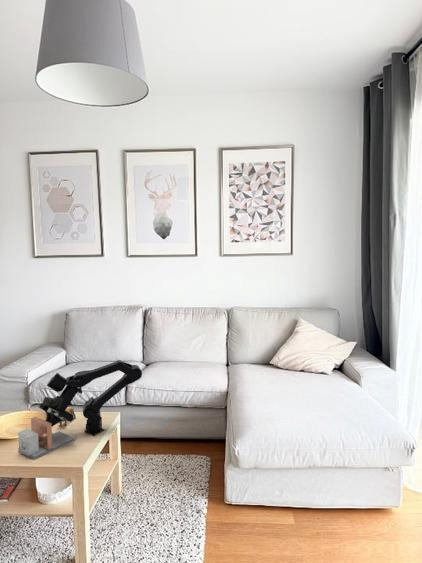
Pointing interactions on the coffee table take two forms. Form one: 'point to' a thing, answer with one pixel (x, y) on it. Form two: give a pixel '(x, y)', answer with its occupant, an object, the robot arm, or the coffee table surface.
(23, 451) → the bearing block
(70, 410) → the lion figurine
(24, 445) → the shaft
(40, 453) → the base board
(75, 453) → the coffee table surface
